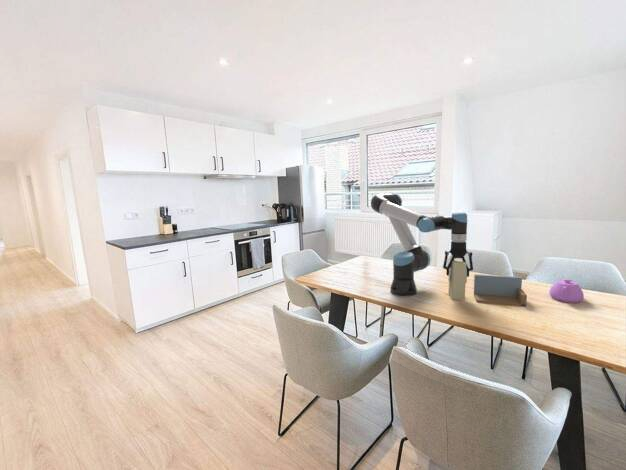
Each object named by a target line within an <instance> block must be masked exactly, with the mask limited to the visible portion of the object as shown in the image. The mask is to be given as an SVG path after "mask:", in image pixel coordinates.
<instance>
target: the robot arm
mask: <svg viewBox="0 0 626 470" xmlns="http://www.w3.org/2000/svg"><path fill="white" fill-rule="evenodd" d="M402 204H403V200H402V197H401V196H400V195H399V194H398V193H394V192H387V193H377V194H375V195H374V196H373V197H372V198H371V201H370V206H371V209H372V210H373V211H374V212H376V213H378V214H380V215H384V216H385V217H387V218H388V219H389V221H390V224H391V225H392V227H393V229H394V231H395V234H396V235H397V238H398V240H399V242H400V244H401V246H402V248H403V251H400V252H397V253H394V255H393V260H392V264H393V265H392V266H393V279H392V282H391V285H390V293H392V294H394V295H396V296H403V297H406V296H408V297H409V296H414V295H415V294H417V293H418V288H417V286H416V282H415V279H414V277H415V276H414V275H415V274H414V273H416V272H419V271H423V270H425V269H426V268H428V267H429V266H430V264H431V256H430V254H429V253H428V252H427V251H426V250H424V249H423V248H422V246H421V245H419V244H418V243H417V241H416V239H415V237H414V235H413V233H412V231H411V229H410V227H409V225H410V226H413V227H415V228H417V229H418V230H419V231H420V232H421V233H431V232H434V231H440V230H450V231H451V234H450V240H451V241H450V249H449V250H444V259H443V266H442V267H443V270H446V272H445V273H446V276H448V283H449V282H450V267H451V265H452V261H454V259H462V260H463V262H466V263H467V261H466V259H465V256H466V255H467V256H468V261H469V266H468V264H467V267H466V284H467V280H468V278H469V277H470V271H474V265H473V264H474V263H473V257H472V256H473V252H472V251H468V250H467V239H468V238H467V236H468V235H467V234H468V232H467V231H468V214H467V213H466V212H453V213H452V214H451V215H449V216H448V215H432V216H431V217H429V216H426V215H424V214H421V213H419V212H416V211H415V210H411V209H408V208H406V207H404V206H402ZM449 255H451V258H450V259H451V260H450V259H449V262H448V257H449Z"/></svg>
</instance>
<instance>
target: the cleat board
mask: <svg viewBox="0 0 626 470" xmlns="http://www.w3.org/2000/svg"><path fill="white" fill-rule="evenodd" d="M473 277H474V278H473V279H474V280H473V297H474V299H475V302H476V303H481V304H482V303H483V304H491V305H492V304H493V305H503V306H505V305H506V306H514V307H515V306H516V307H525V308H526V307H527V297H528V295H527V294H526V292H525V291H524V290H523V289H522V285H523V283H522V282H523V277H522V276H515V275H513V276H512V275H498V274H497V275H494V274H479V273H474V276H473Z"/></svg>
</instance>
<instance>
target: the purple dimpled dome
mask: <svg viewBox="0 0 626 470" xmlns="http://www.w3.org/2000/svg"><path fill="white" fill-rule="evenodd" d="M548 292H549V296H550V297H551V298H552V299H554V300H556V301H559V302H564V303H570V304H571V303H572V304H577V302H578V303H580V302H582V301H583V300H585V299H584V298H585V296H584V291H583V290H582V288H581V287H580V285H579V284H578V283H577V282H574V281H573V280H571V279H568V278H563V279H562V280H557V281H555V283H554V284H552V286H551V287H550V289H549V291H548Z"/></svg>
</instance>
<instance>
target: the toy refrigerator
mask: <svg viewBox="0 0 626 470" xmlns="http://www.w3.org/2000/svg"><path fill="white" fill-rule="evenodd" d="M450 260H451V258H450V259H449V261H450ZM467 265H468V263H467V261H466V262H463V260H462V258H455V259H454V261H452V265H451V267H450V282H449V281H448V296H449V297H450V299H451V300H457V301H458V300H460V301H461V300H462V301H465V298H466V297H465V296H466V284H467V283H466V270H467V269H466V267H467Z"/></svg>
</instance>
